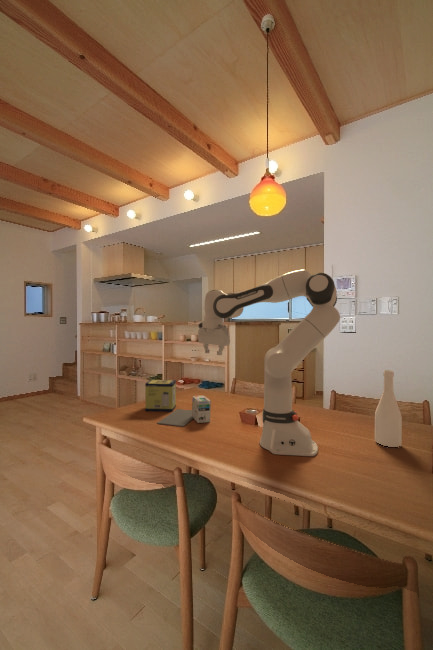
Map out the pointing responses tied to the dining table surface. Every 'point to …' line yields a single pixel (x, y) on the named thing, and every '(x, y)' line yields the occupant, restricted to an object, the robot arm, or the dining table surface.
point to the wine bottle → (388, 415)
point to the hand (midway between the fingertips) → (213, 354)
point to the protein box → (160, 395)
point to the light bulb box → (201, 409)
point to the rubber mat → (177, 418)
